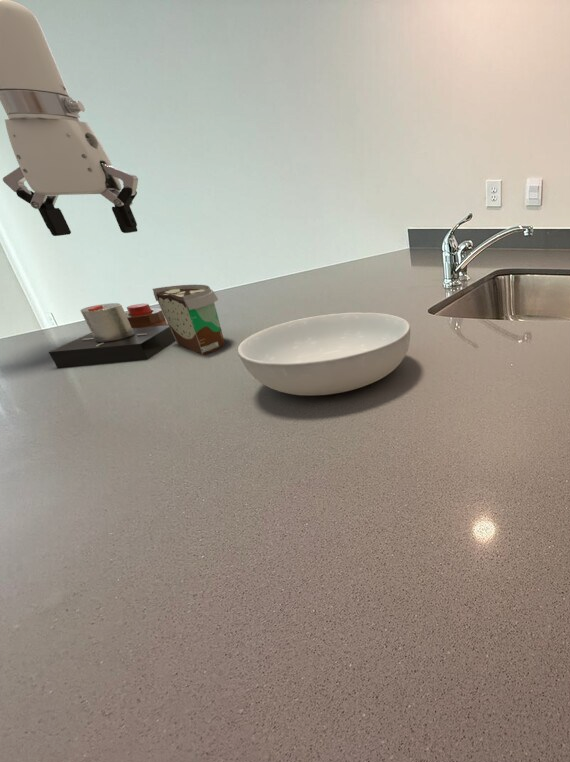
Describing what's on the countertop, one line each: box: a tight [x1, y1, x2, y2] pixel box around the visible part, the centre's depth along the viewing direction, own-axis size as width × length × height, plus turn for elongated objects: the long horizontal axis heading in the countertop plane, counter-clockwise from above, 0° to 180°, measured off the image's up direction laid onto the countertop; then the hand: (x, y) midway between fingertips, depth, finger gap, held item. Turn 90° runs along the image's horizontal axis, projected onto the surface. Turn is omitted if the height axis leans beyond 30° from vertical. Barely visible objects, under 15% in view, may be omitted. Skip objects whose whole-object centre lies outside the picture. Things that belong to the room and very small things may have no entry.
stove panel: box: [48, 325, 176, 369], centre depth 67 cm, size 12×10×3 cm
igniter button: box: [126, 303, 152, 316], centre depth 76 cm, size 3×3×2 cm
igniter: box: [125, 307, 168, 328], centre depth 77 cm, size 10×8×4 cm
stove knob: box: [80, 302, 134, 342], centre depth 65 cm, size 5×5×5 cm
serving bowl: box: [237, 312, 411, 396], centre depth 55 cm, size 21×21×7 cm
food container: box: [152, 284, 226, 356], centre depth 68 cm, size 12×6×10 cm, turn 58°
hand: (96, 233), depth 67 cm, fingers open, 9 cm apart
